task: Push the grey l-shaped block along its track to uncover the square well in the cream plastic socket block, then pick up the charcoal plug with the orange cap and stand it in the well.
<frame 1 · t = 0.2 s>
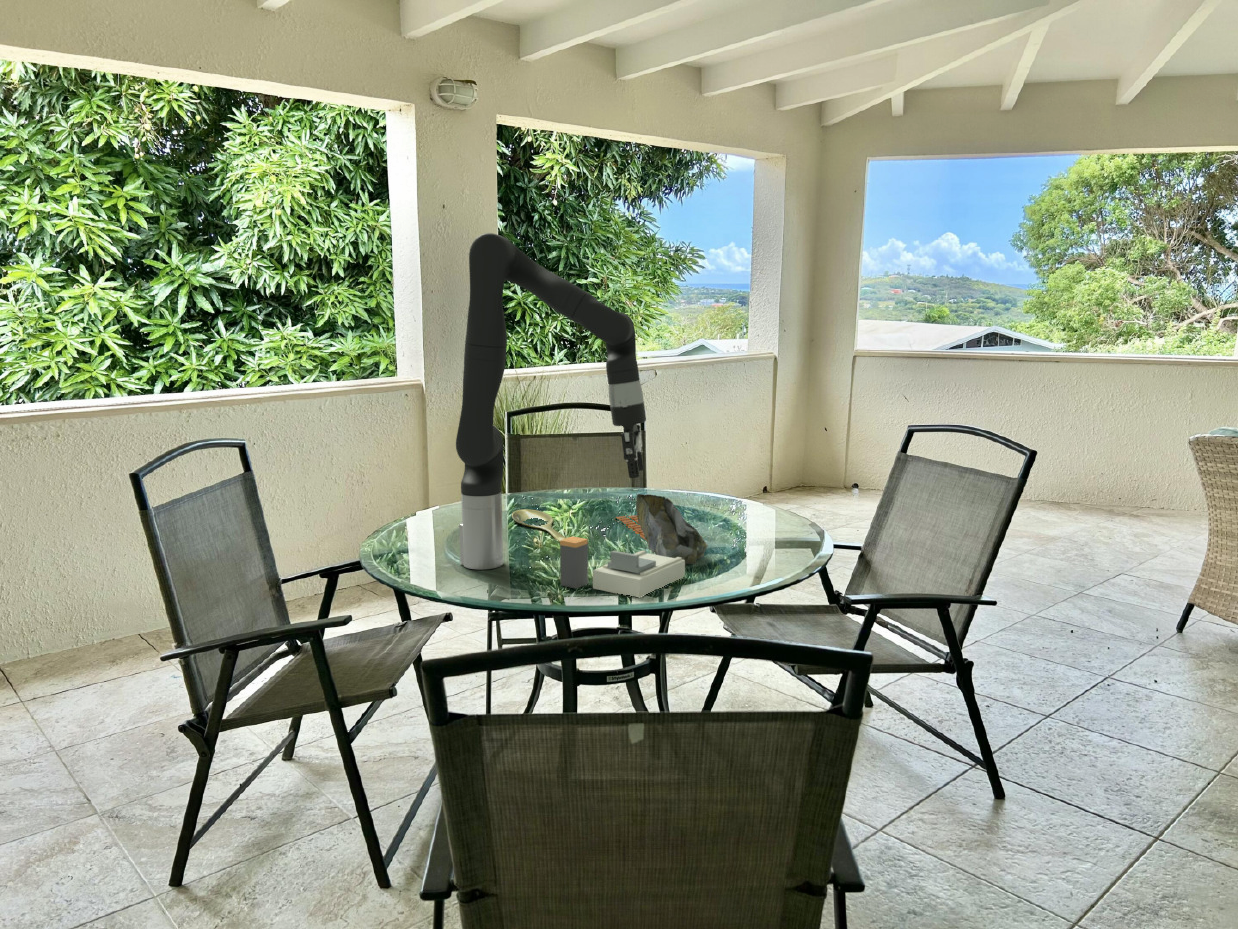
hand: (636, 474, 204), 22 cm above the table, tool pointing down, fingers open, 8 cm apart
stone: (668, 553, 223), on the table
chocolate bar: (656, 531, 247), on the table
socket block: (639, 582, 198), on the table
plug: (574, 584, 197), on the table
grey l-shaped block: (631, 558, 195), point 6 cm above the table, slide at 0.0 cm
spoon: (543, 530, 247), on the table
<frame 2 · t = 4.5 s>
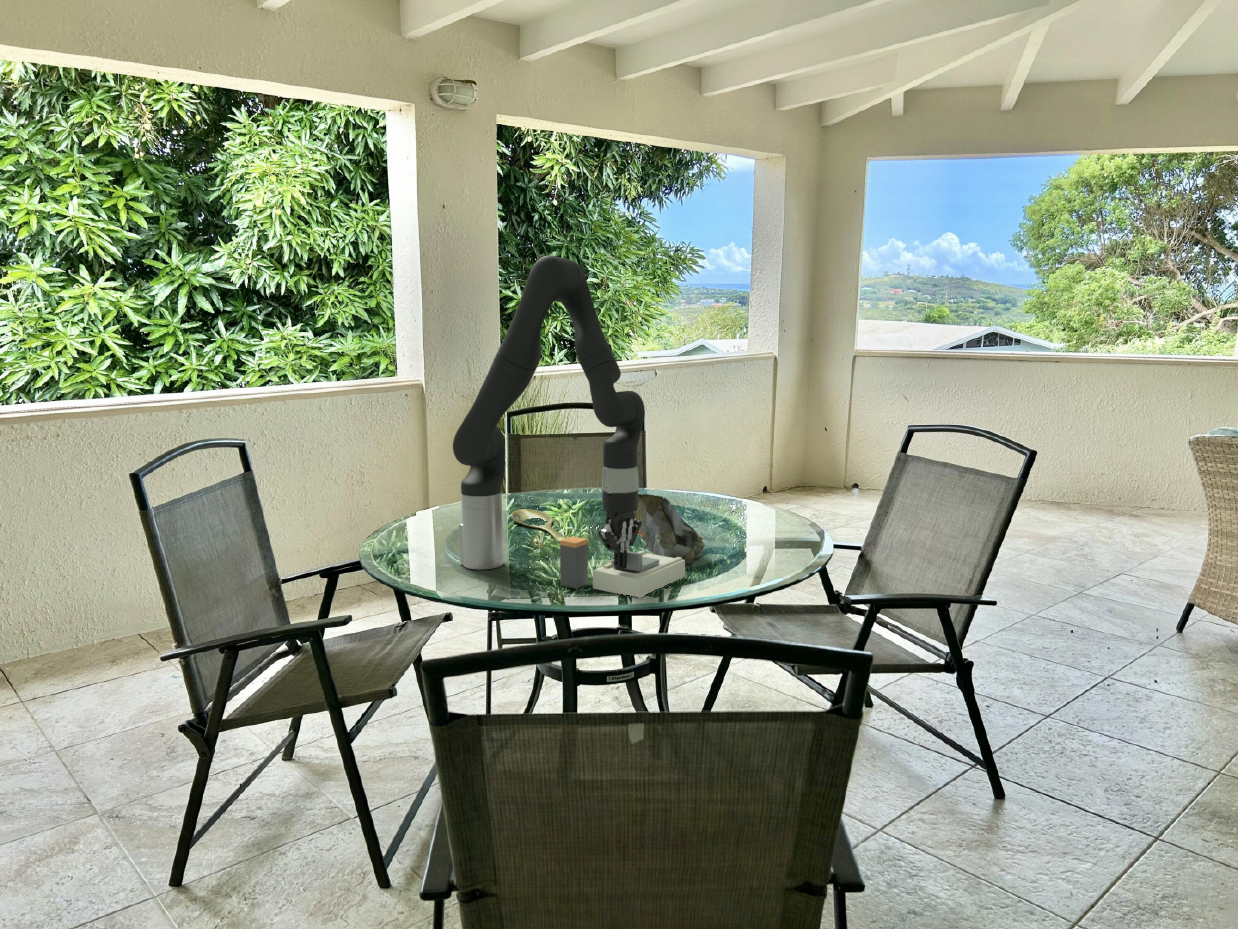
hand: (620, 568, 192), 5 cm above the table, tool pointing down, fingers closed
grey l-shaped block: (635, 557, 196), point 6 cm above the table, slide at 1.4 cm, touching gripper
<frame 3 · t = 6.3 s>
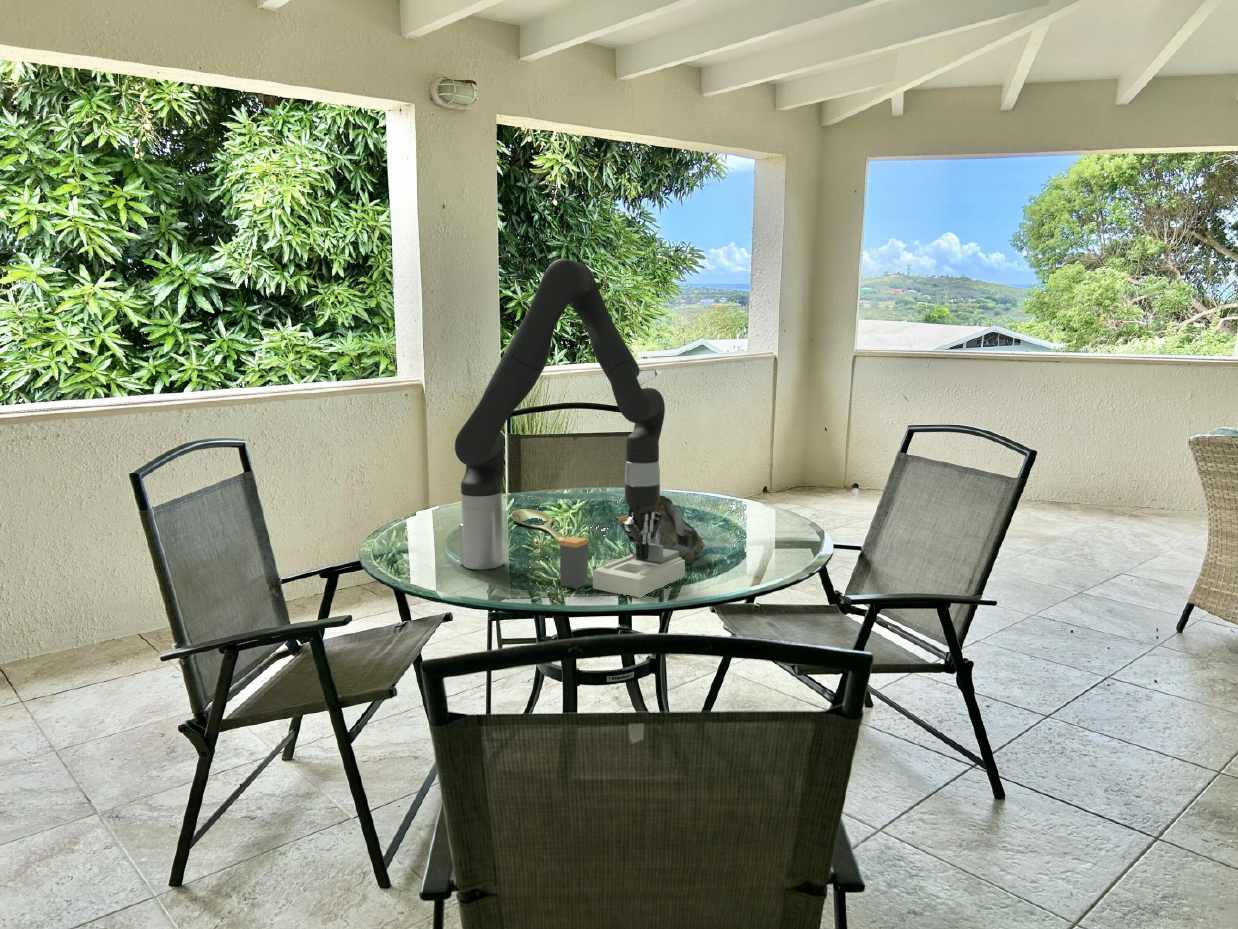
hand: (642, 559, 198), 5 cm above the table, tool pointing down, fingers closed
grey l-shaped block: (656, 549, 202), point 6 cm above the table, slide at 9.5 cm, touching gripper
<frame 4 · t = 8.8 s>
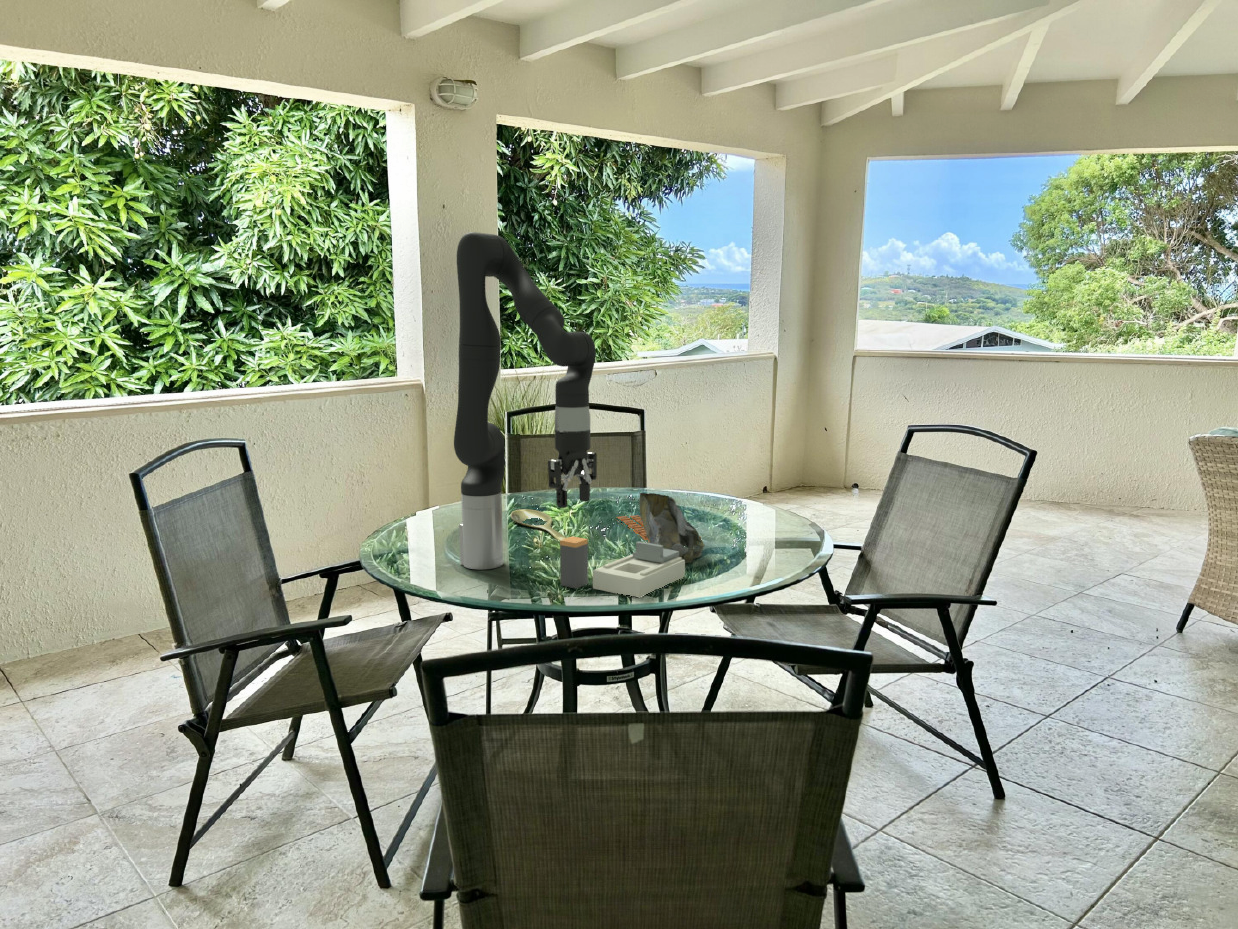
hand: (573, 504, 194), 18 cm above the table, tool pointing down, fingers open, 7 cm apart
grey l-shaped block: (656, 549, 202), point 6 cm above the table, slide at 9.5 cm
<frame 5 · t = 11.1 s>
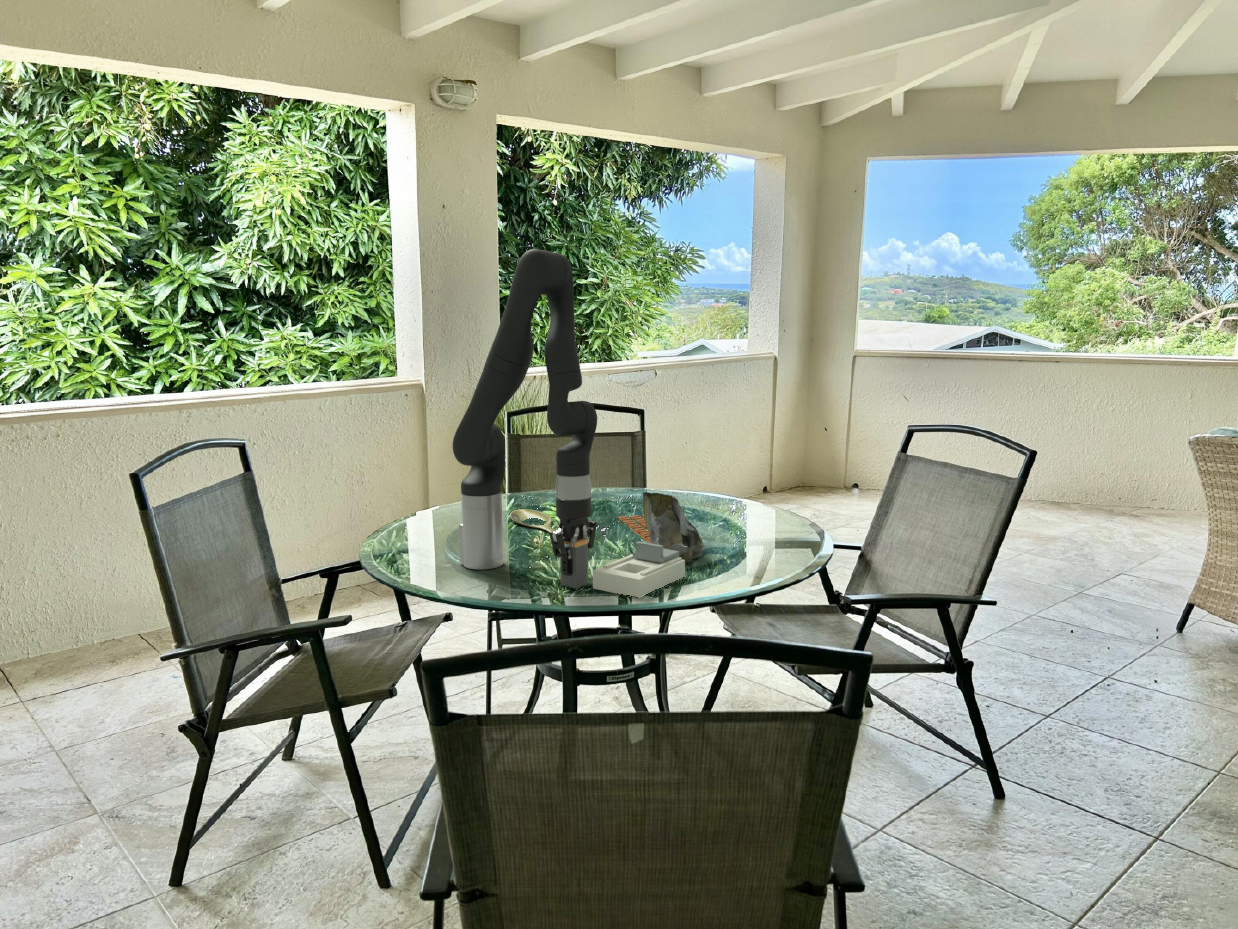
hand: (574, 572, 197), 3 cm above the table, tool pointing down, fingers closed on plug, 4 cm apart
plug: (574, 584, 197), on the table, touching gripper
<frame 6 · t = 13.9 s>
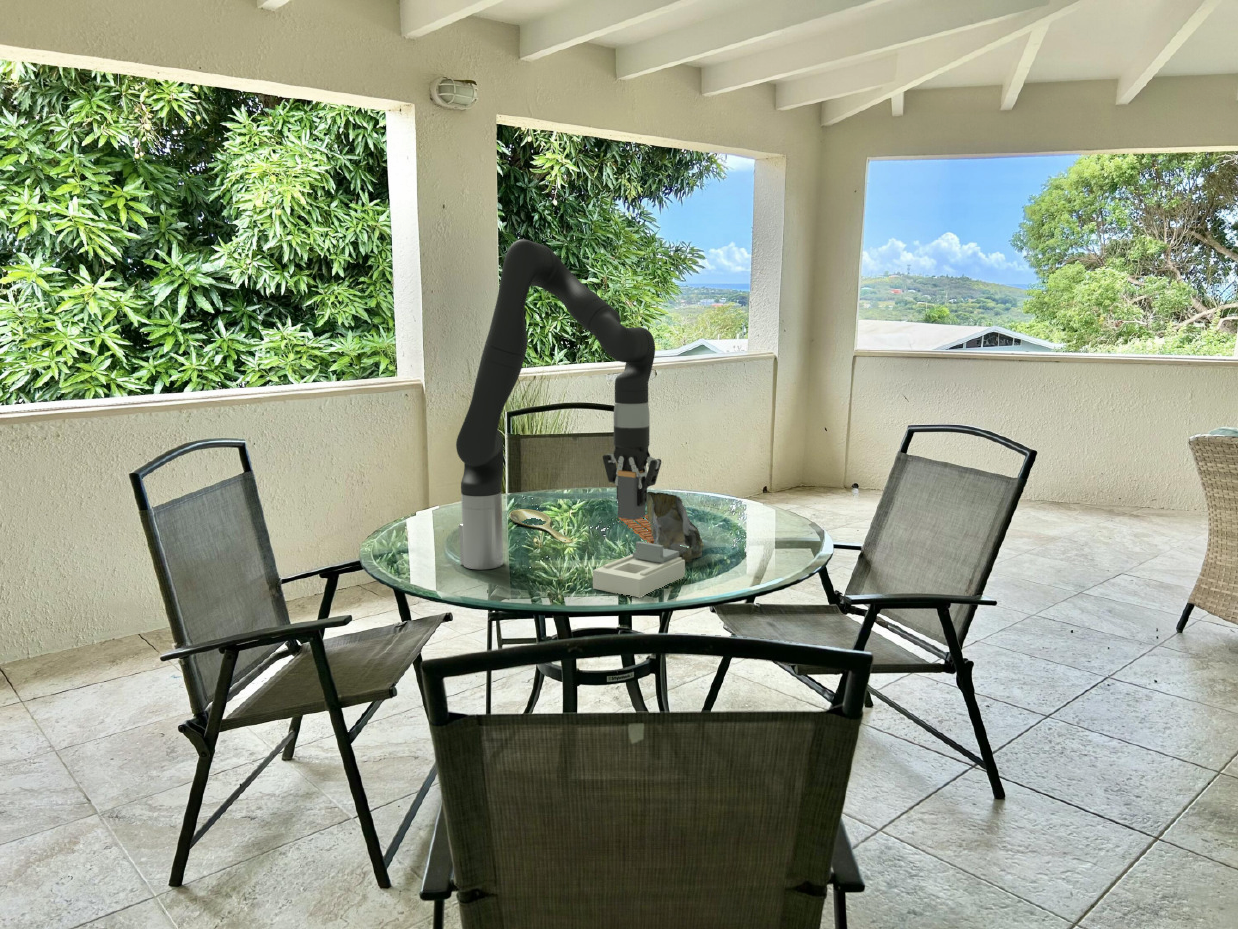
hand: (631, 503, 193), 18 cm above the table, tool pointing down, fingers closed on plug, 4 cm apart
plug: (631, 516, 193), point 15 cm above the table, touching gripper
when the fingers open (5 cm above the table, at t = 17.1 s): plug drops 1 cm, resting on socket block.
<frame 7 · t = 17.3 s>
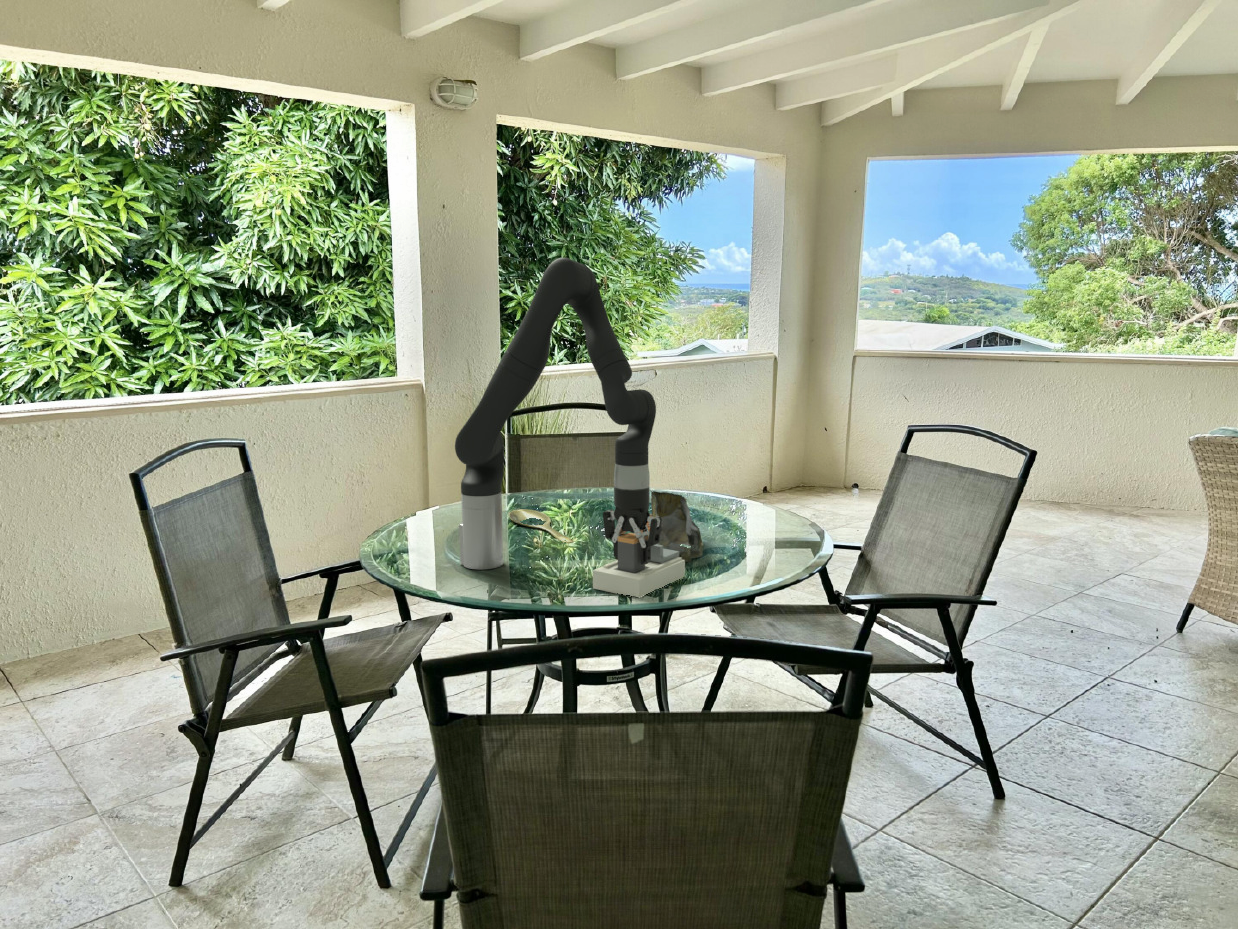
hand: (631, 561, 195), 6 cm above the table, tool pointing down, fingers open, 6 cm apart
plug: (631, 581, 196), point 1 cm above the table, touching socket block
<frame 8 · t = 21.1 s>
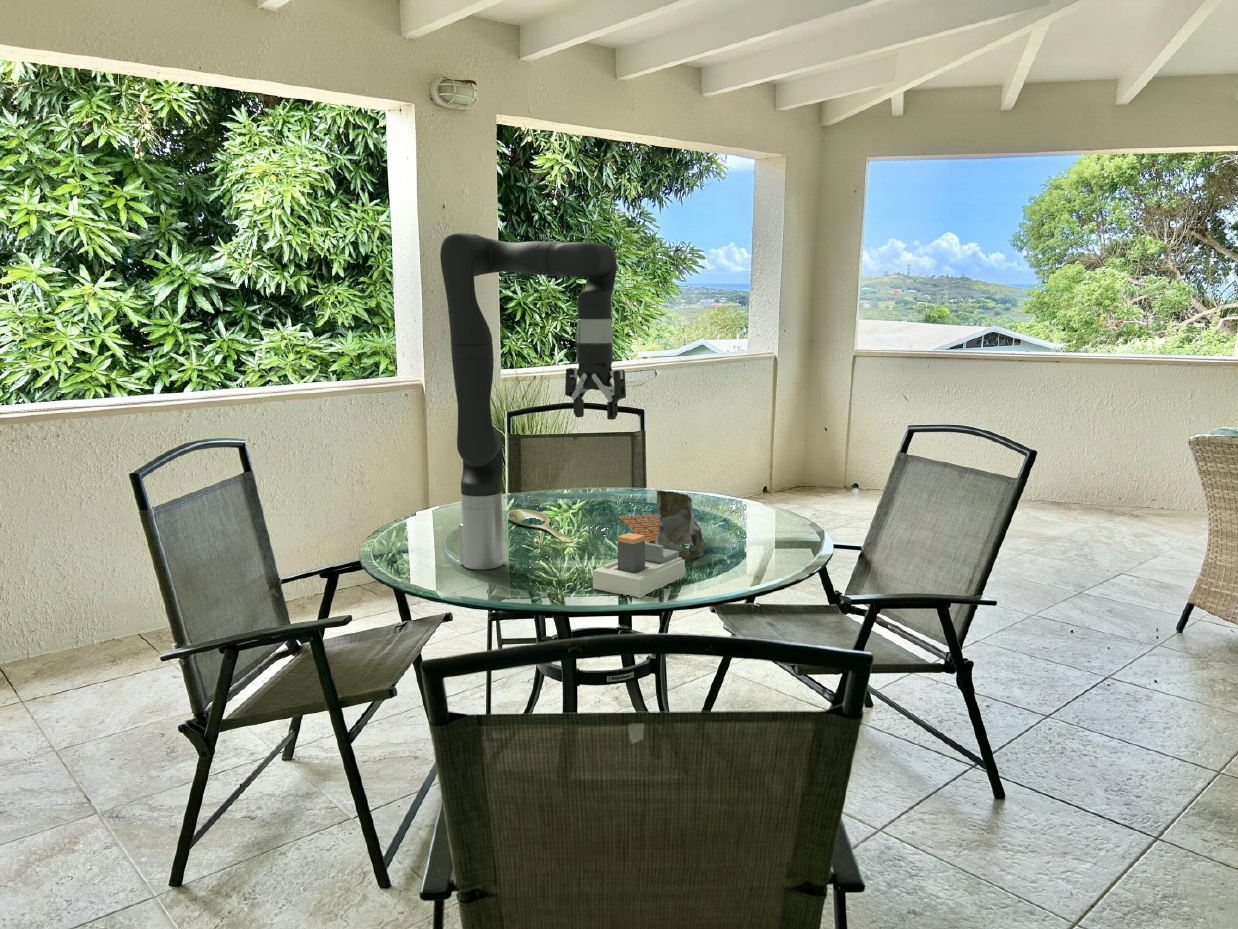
hand: (595, 418, 193), 36 cm above the table, tool pointing down, fingers open, 8 cm apart
at the end: grey l-shaped block slide at 9.5 cm; plug 0.1 cm from the target spot on the socket block, point 1.1 cm above the socket block's base; plug tilted 0° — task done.
